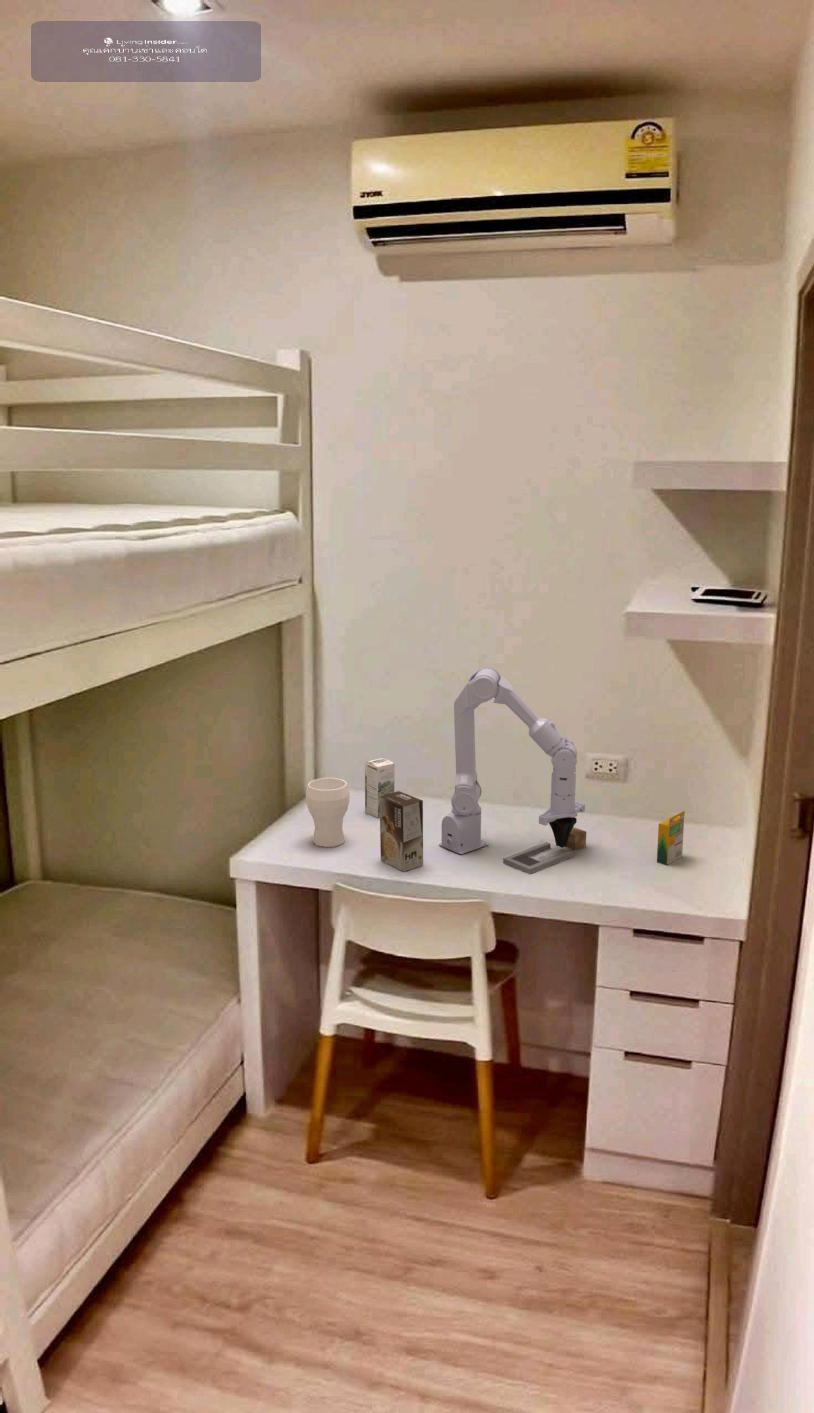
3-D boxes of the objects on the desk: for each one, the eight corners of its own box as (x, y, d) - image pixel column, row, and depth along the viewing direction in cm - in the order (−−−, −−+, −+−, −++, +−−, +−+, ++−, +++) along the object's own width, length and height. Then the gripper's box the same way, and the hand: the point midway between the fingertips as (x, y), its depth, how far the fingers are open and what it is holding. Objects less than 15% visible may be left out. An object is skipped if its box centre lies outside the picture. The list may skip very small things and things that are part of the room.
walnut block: (575, 851, 242) (575, 835, 241) (562, 846, 245) (562, 830, 244) (585, 846, 245) (586, 831, 244) (573, 842, 248) (573, 827, 247)
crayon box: (671, 853, 241) (674, 807, 238) (682, 856, 239) (685, 810, 236) (655, 862, 236) (658, 815, 233) (667, 865, 234) (670, 818, 231)
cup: (306, 849, 243) (304, 791, 240) (308, 833, 254) (307, 777, 250) (349, 849, 244) (348, 790, 240) (350, 833, 254) (349, 776, 250)
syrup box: (381, 808, 272) (380, 756, 268) (395, 813, 267) (394, 761, 264) (364, 812, 268) (363, 761, 265) (378, 818, 264) (377, 766, 260)
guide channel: (529, 874, 229) (529, 869, 229) (503, 862, 235) (503, 858, 235) (573, 856, 239) (573, 852, 238) (546, 846, 245) (546, 842, 245)
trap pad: (532, 868, 232) (532, 867, 232) (516, 862, 236) (516, 860, 236) (543, 864, 235) (543, 862, 234) (528, 857, 238) (528, 856, 238)
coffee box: (424, 865, 234) (424, 800, 230) (403, 872, 230) (403, 806, 226) (399, 853, 241) (399, 790, 237) (378, 860, 237) (378, 796, 233)
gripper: (555, 803, 231) (553, 858, 234) (595, 789, 240) (593, 843, 243) (532, 795, 236) (531, 849, 239) (573, 782, 245) (570, 834, 249)
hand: (561, 845), depth 242 cm, fingers closed
